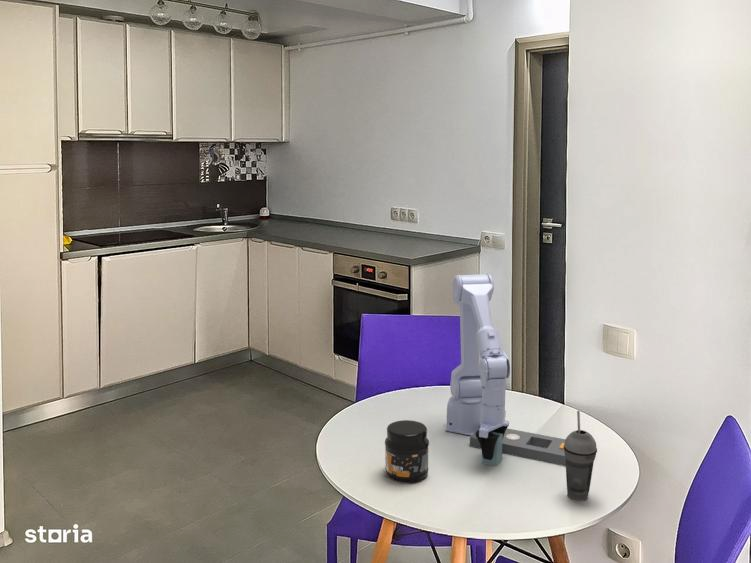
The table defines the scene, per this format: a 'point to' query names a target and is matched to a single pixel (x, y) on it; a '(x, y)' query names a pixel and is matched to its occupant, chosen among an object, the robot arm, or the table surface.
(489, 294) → the robot arm
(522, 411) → the table surface
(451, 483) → the table surface
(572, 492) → the beverage cup
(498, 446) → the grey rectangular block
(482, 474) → the table surface
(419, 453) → the supplement container
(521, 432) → the control panel
